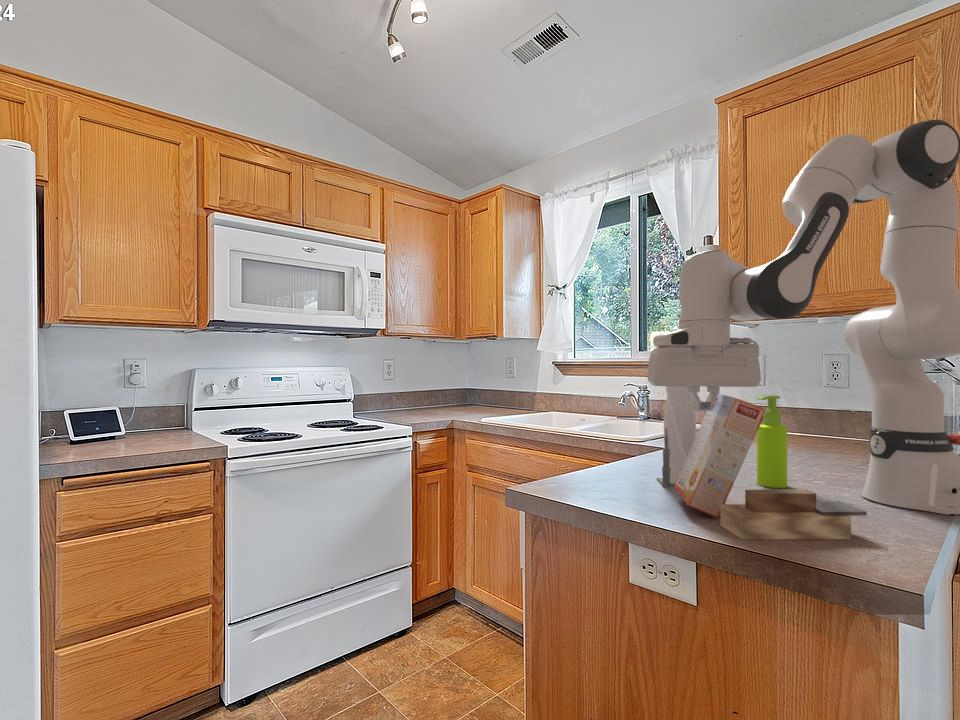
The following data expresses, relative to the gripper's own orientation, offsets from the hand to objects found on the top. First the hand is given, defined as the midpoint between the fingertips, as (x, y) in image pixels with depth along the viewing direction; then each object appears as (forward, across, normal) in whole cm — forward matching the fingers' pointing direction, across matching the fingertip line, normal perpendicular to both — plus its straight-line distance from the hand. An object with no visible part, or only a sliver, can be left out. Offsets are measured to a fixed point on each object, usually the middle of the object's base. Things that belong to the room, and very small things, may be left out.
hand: (703, 411), depth 98 cm
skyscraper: (+18, -3, -20) cm, 27 cm away
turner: (+15, -10, +14) cm, 22 cm away
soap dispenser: (+18, -23, -18) cm, 35 cm away
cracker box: (+17, +2, 0) cm, 17 cm away
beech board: (+18, -7, +14) cm, 24 cm away
